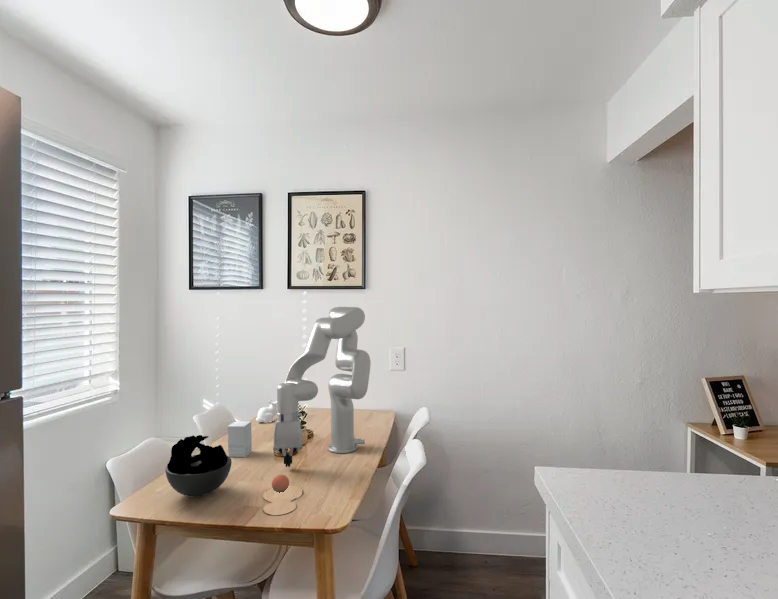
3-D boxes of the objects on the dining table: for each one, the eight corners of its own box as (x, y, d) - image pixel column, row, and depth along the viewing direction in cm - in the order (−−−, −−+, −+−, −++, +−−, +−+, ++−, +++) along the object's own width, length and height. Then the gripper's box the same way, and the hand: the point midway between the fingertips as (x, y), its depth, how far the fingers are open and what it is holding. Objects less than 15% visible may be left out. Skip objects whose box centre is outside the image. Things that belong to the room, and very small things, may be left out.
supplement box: (252, 451, 193) (252, 421, 193) (245, 457, 185) (244, 426, 185) (235, 450, 193) (235, 420, 193) (227, 457, 186) (227, 425, 186)
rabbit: (272, 418, 246) (272, 395, 246) (283, 421, 239) (282, 398, 239) (252, 422, 237) (252, 399, 237) (262, 426, 230) (262, 402, 230)
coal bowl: (184, 481, 161) (183, 428, 161) (240, 482, 161) (240, 428, 161) (153, 508, 141) (152, 446, 141) (217, 508, 141) (216, 447, 141)
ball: (289, 470, 155) (287, 477, 150) (290, 487, 155) (288, 494, 150) (272, 472, 155) (270, 479, 149) (273, 488, 155) (270, 496, 149)
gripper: (308, 413, 177) (308, 461, 177) (268, 414, 175) (268, 463, 175) (307, 418, 169) (307, 468, 169) (265, 420, 167) (266, 470, 167)
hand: (288, 465), depth 172 cm, fingers closed
